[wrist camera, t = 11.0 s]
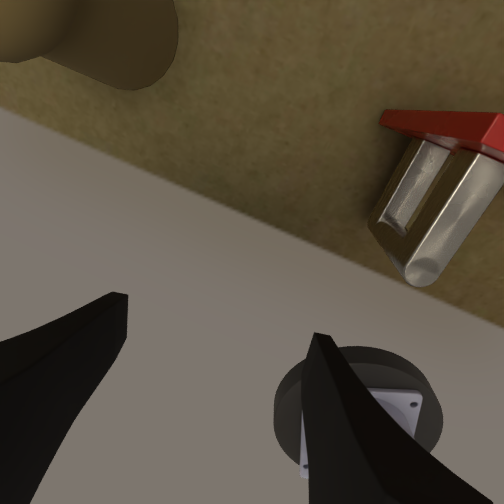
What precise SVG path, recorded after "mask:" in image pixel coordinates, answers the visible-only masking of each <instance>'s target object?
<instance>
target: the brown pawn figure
mask: <svg viewBox="0 0 504 504" xmlns="http://www.w3.org/2000/svg"><path fill="white" fill-rule="evenodd" d="M177 43H178V19H177V15H176V12H175V8H174V4H173V1H172V0H0V62H10V63H19V62H22V61H26V60H30V59H33V58H36V57H39V56H42V57H44V58H46V59H49V60H51V61H53V62H56V63H58V64H60V65H63V66H65V67H67V68H70V69H72V70H75V71H77V72H79V73H82V74H84V75H86V76H89V77H91V78H93V79H96V80H98V81H101V82H103V83H105V84H108V85H110V86H112V87H115V88H117V89H125V90H137V89H141V88H144V87H148V86H150V85H152V84H153V83H154V82H156V81H157V80H158V79H159V78H161V77H162V76H163V75H164V74H165V72H166V70H167V69H168V67H169V66H170V64H171V63H172V61H173V58H174V55H175V51H176V47H177Z"/></svg>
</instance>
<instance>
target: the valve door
mask: <svg viewBox="0 0 504 504" xmlns="http://www.w3.org/2000/svg"><path fill="white" fill-rule="evenodd" d="M379 124H380V125H382V126H384V127H387V128H389V129H391V130H394V131H396V132H399V133H401V134H403V135H406V136H408V137H411V138H413V139H412V141H411V143H410V144H409V146H408V148H407V150H406V152H405V153H404V155H403V157H402V159H401V161H400V163H399V164H398V166H397V168H396V170H395V172H394V173H393V175H392V177H391V179H390V181H389V182H388V184H387V186H386V188H385V190H384V192H383V193H382V195H381V197H380V199H379V201H378V202H377V204H376V206H375V208H374V210H373V211H372V213H371V215H370V217H369V219H368V222H367V225H368V229H369V230H370V232H371V233H372V235H373V236H374V237H375V239H376V240H377V242H378V243H379V245H380V246H381V247H382V249H383V250H384V252H385V253H386V254H387V256H388V257H389V259H390V260H391V262H392V263H393V264H394V266H395V267H396V269H397V270H398V271H399V273H400V274H401V276H402V277H403V279H404V280H405V281H406V282H407V283H408V284H409V285H411V286H414V287H425V286H428V285H430V284H432V283H433V282H435V281H436V280H437V279H438V277H439V276H440V274H441V273H442V271H443V270H444V268H445V267H446V266H447V264H448V263H449V261H450V260H451V258H452V257H453V256H454V254H455V253H456V251H457V250H458V248H459V247H460V246H461V244H462V243H463V241H464V240H465V238H466V237H467V236H468V234H469V233H470V231H471V230H472V228H473V227H474V226H475V224H476V223H477V221H478V220H479V218H480V217H481V216H482V214H483V213H484V211H485V210H486V208H487V207H488V206H489V204H490V203H491V201H492V200H493V198H494V197H495V196H496V194H497V193H498V191H499V190H500V188H501V187H502V186H503V184H504V114H501V113H489V112H455V111H422V110H388V109H386V110H385V112H384V114H383V116H382V118H381V120H380V122H379ZM449 154H451V155H454V157H453V158H452V160H451V162H450V163H449V165H448V166H447V168H446V170H445V171H444V173H443V175H442V176H441V178H440V180H439V181H438V183H437V184H436V186H435V188H434V189H433V191H432V193H431V194H430V196H429V197H428V199H427V201H426V202H425V204H424V206H423V207H422V209H421V210H420V212H419V214H418V215H417V217H416V219H415V220H414V222H413V223H412V225H411V227H410V228H409V230H407V229H406V228H405V226H406V224H407V223H408V221H409V220H410V218H411V216H412V215H413V213H414V211H415V210H416V208H417V206H418V205H419V203H420V201H421V200H422V198H423V196H424V195H425V193H426V192H427V190H428V188H429V187H430V185H431V183H432V182H433V180H434V178H435V177H436V175H437V173H438V172H439V170H440V168H441V167H442V165H443V164H444V162H445V160H446V159H447V157H448V155H449Z"/></svg>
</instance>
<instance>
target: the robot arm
mask: <svg viewBox="0 0 504 504" xmlns="http://www.w3.org/2000/svg"><path fill="white" fill-rule="evenodd" d="M127 314H128V295H127V294H122V293H117V292H110V293H108V294H106V295H104V296H102V297H100V298H98V299H96V300H94V301H93V302H91V303H89V304H87V305H85V306H83V307H81V308H79V309H77V310H75V311H73V312H71V313H69V314H67V315H65V316H63V317H61V318H58V319H56V320H54V321H52V322H49V323H47V324H45V325H43V326H41V327H38V328H36V329H34V330H31V331H29V332H26V333H23V334H21V335H18V336H15V337H13V338H10V339H7V340H4V341H1V342H0V504H30V502H31V500H32V498H33V496H34V494H35V492H36V490H37V488H38V486H39V484H40V482H41V480H42V478H43V476H44V475H45V473H46V471H47V469H48V467H49V465H50V463H51V461H52V460H53V458H54V456H55V454H56V452H57V450H58V448H59V447H60V445H61V443H62V441H63V439H64V438H65V436H66V434H67V432H68V430H69V429H70V427H71V425H72V423H73V422H74V420H75V419H76V417H77V415H78V414H79V412H80V411H81V409H82V408H83V406H84V405H85V404H86V402H87V401H88V399H89V398H90V396H91V395H92V393H93V392H94V391H95V389H96V388H97V386H98V385H99V383H100V382H101V380H102V379H103V377H104V376H105V375H106V373H107V372H108V370H109V369H110V367H111V366H112V364H113V363H114V361H115V360H116V358H117V356H118V354H119V352H120V350H121V348H122V346H123V344H124V342H125V340H126V338H127ZM422 399H423V398H422V395H421V393H420V392H419V391H418V390H409V389H384V388H366V387H365V385H364V384H363V383H362V381H361V380H360V379H359V377H358V376H357V375H356V373H355V372H354V370H353V369H352V368H351V366H350V365H349V363H348V362H347V360H346V359H345V357H344V356H343V354H342V353H341V351H340V350H339V348H338V347H337V345H336V344H335V342H334V341H333V339H332V338H331V336H330V335H325V334H320V333H314V335H313V338H312V341H311V344H310V347H309V351H308V353H307V357H306V360H305V363H304V366H303V369H302V372H301V404H302V423H301V446H300V470H299V471H300V476H301V477H302V478H305V479H309V504H493V502H492V501H491V500H490V499H488V498H487V497H485V496H484V495H483V494H481V493H480V492H479V491H477V490H476V489H474V488H473V487H472V486H470V485H469V484H468V483H466V482H465V481H464V480H462V479H461V478H459V477H458V476H457V475H456V474H454V473H453V472H451V471H450V470H449V469H448V468H447V467H445V466H444V465H443V464H442V463H441V462H439V461H438V460H437V459H436V458H435V457H433V456H432V455H431V454H430V453H429V452H428V451H426V450H425V449H424V448H423V447H422V446H421V445H420V444H419V443H418V442H416V441H415V439H414V434H415V429H416V425H417V421H418V416H419V412H420V408H421V404H422ZM412 402H414V403H412Z"/></svg>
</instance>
